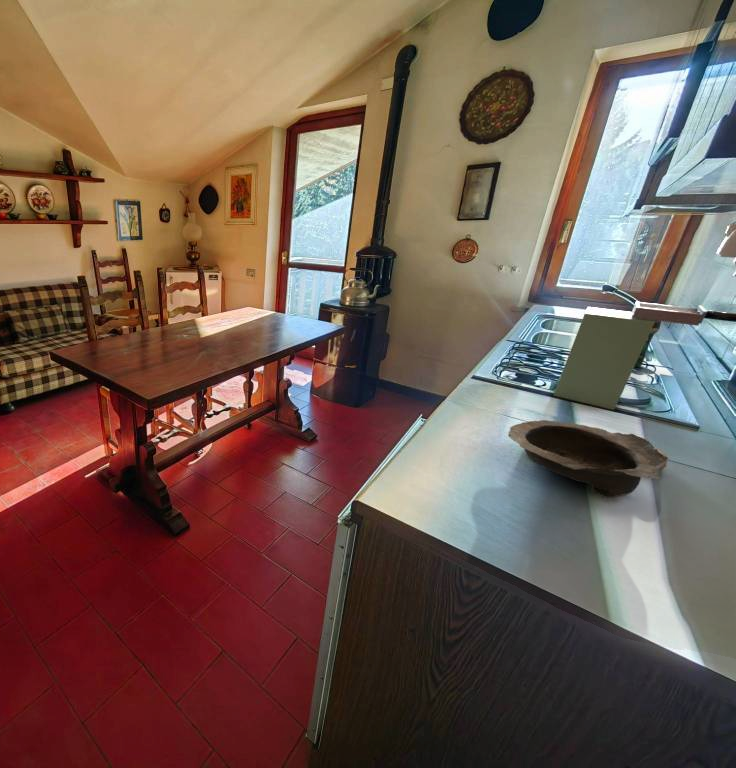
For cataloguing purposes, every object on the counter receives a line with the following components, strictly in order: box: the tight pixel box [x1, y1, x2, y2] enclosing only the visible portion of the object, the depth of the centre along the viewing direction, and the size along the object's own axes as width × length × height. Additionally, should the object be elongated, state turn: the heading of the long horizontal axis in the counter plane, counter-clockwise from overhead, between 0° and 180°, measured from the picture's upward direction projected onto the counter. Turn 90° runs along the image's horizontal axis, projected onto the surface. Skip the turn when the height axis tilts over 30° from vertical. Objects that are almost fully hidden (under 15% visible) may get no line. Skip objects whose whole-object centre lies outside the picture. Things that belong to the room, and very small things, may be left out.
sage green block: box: [552, 306, 655, 411], centre depth 115 cm, size 14×12×26 cm
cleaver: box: [631, 301, 736, 327], centre depth 100 cm, size 23×10×4 cm, turn 46°
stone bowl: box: [507, 419, 669, 498], centre depth 83 cm, size 25×25×9 cm
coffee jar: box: [634, 320, 662, 368], centre depth 145 cm, size 10×8×19 cm
